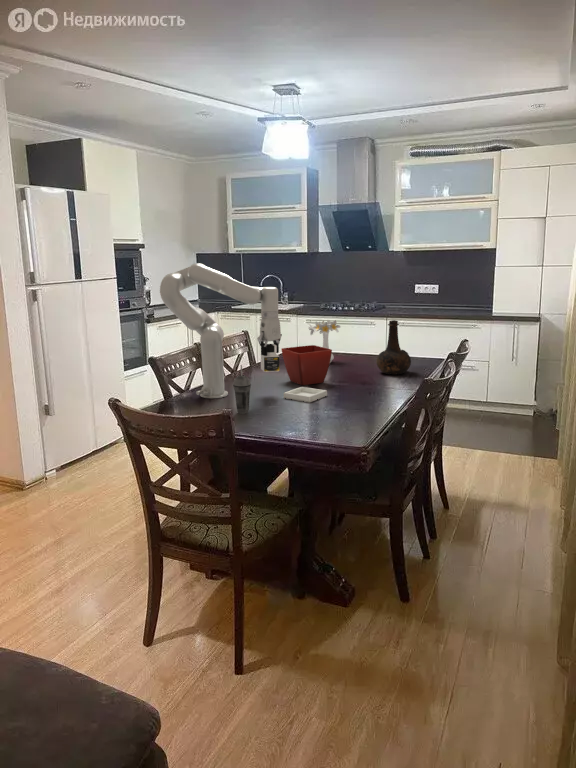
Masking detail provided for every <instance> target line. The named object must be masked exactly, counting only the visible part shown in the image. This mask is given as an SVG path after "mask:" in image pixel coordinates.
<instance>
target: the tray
mask: <svg viewBox="0 0 576 768" xmlns="http://www.w3.org/2000/svg"><path fill="white" fill-rule="evenodd" d="M325 396H326V397H327V396H328V390H326V389H319V388H312V387H306V386H300V387H297V388H293V389H291V390H289V391H288V390H287V391H286V392H283V399H285V398H286V399H287V400H291V399H292V400H291V401H298V402H303V401H304V402H305V403H308V404H309V403H312V402H315V401H318V400H320V399H323V398H325ZM317 399H318V400H317Z"/></svg>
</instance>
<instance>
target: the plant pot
mask: <svg viewBox="0 0 576 768" xmlns="http://www.w3.org/2000/svg"><path fill="white" fill-rule="evenodd" d="M331 354H333V349H331V348H329V349H328V348H324V347H323V346H319V345H313V344H310V345H299V346H291V347H282V348H281V355H282V358H283V363H284V366H285V370H286V373H287V375H288V378H289V380H290V382H292V383H295V384H297V385H299V386H306V385H308V386H309V385H314V384H322V383H324V382H325V380H326V376H327V374H328V371H329V367H330V364H331V363H330V360H331Z"/></svg>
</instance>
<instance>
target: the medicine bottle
mask: <svg viewBox="0 0 576 768" xmlns="http://www.w3.org/2000/svg"><path fill="white" fill-rule="evenodd" d="M266 347H267V356H264V355H261V354H260V370H261V371H262V372H264V373H272V372H280V355H278V353H277V346H276V345H275V344H274V343H267V346H266Z"/></svg>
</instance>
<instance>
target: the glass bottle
mask: <svg viewBox="0 0 576 768" xmlns="http://www.w3.org/2000/svg"><path fill="white" fill-rule="evenodd" d="M399 325H400V323H399V321H398V320H396V319H395V320H393V319H392V320H389V322H388V324H387V326H388V337H387V338H388V339H387V346H386V348H385V350H382V351H381V352H380V353H379V354H378V355H377V357H376V361H375V362H376V365H377V368H378V370H379V371H380V372H382V373H384V374H386V375H390V374H392V376H393V375H397V374H398V375H402V374H404V373H406V372H407V371H408V370H409V369H410V368H411V364H412V359H411V357H410V354H409V353H408V352H407V351H406V350H405V349H401V347H400V341H399V330H398V329H399V328H398V326H399Z"/></svg>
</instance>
